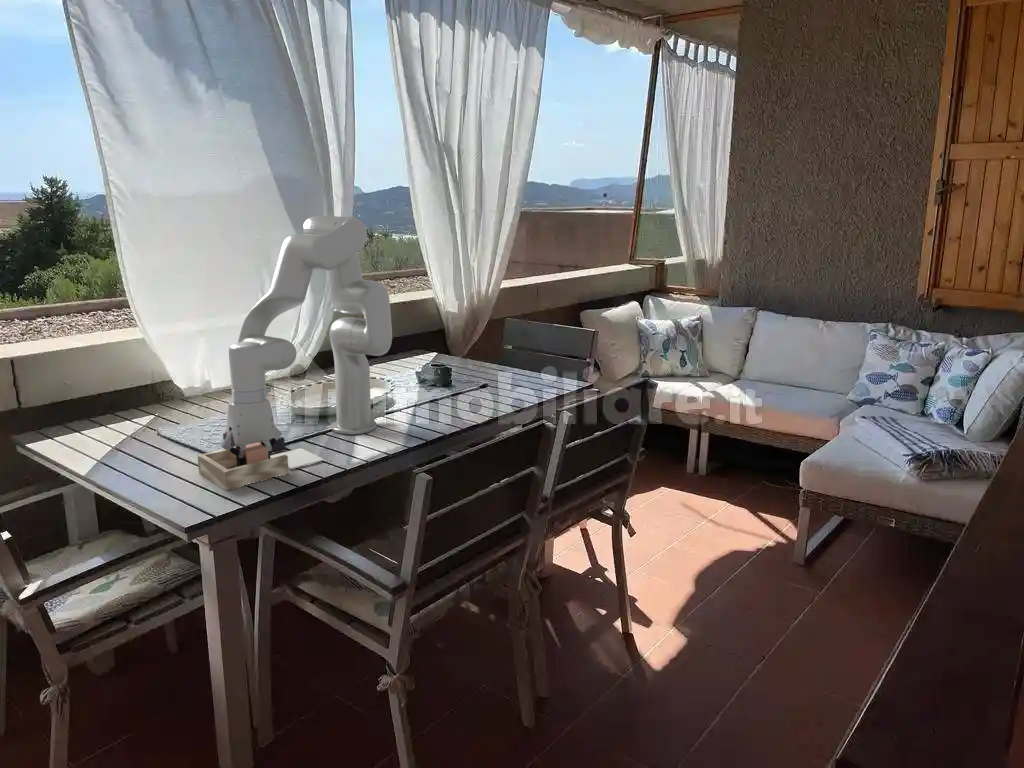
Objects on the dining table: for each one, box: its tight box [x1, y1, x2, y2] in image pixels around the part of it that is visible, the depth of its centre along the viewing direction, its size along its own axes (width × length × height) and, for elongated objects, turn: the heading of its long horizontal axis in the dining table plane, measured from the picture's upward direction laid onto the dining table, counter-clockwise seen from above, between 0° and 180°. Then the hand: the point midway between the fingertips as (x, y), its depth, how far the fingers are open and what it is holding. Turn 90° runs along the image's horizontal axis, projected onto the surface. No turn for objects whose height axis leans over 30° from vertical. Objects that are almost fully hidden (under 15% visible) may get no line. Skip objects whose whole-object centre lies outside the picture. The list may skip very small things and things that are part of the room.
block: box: [244, 442, 268, 464], centre depth 174 cm, size 5×5×6 cm
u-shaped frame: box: [197, 442, 290, 491], centre depth 173 cm, size 15×14×4 cm
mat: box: [270, 447, 325, 470], centre depth 183 cm, size 9×11×1 cm
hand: (254, 468), depth 175 cm, fingers closed on block, 5 cm apart
